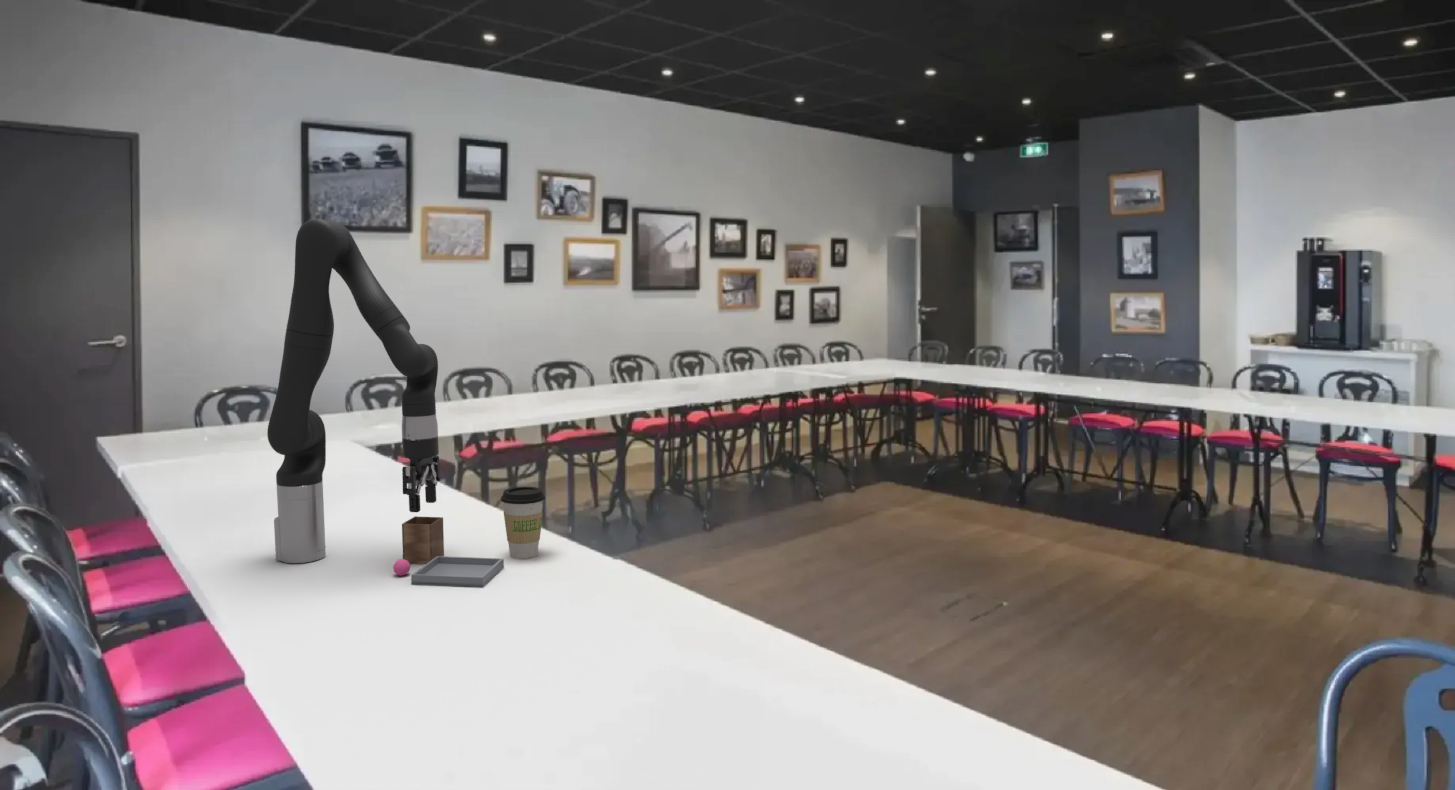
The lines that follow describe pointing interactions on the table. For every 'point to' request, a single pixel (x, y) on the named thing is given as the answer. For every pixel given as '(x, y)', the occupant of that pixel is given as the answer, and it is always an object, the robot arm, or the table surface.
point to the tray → (458, 571)
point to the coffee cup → (523, 520)
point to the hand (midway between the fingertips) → (423, 507)
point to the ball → (401, 567)
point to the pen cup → (422, 539)
